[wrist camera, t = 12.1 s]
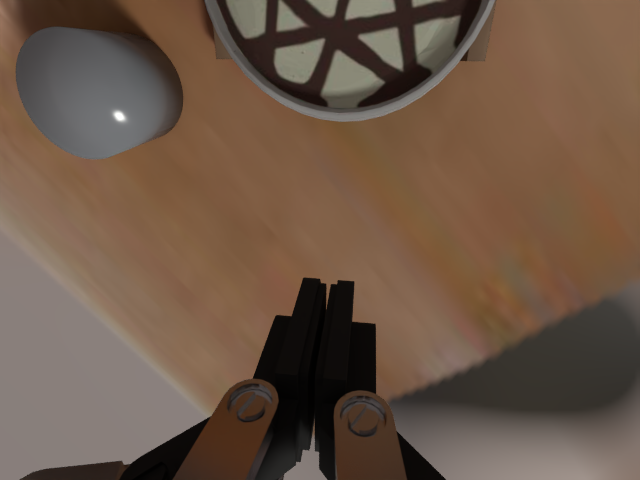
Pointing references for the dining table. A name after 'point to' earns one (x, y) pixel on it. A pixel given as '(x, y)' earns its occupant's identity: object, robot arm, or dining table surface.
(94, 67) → the grey glossy rounded part
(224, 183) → the dining table surface
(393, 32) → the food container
